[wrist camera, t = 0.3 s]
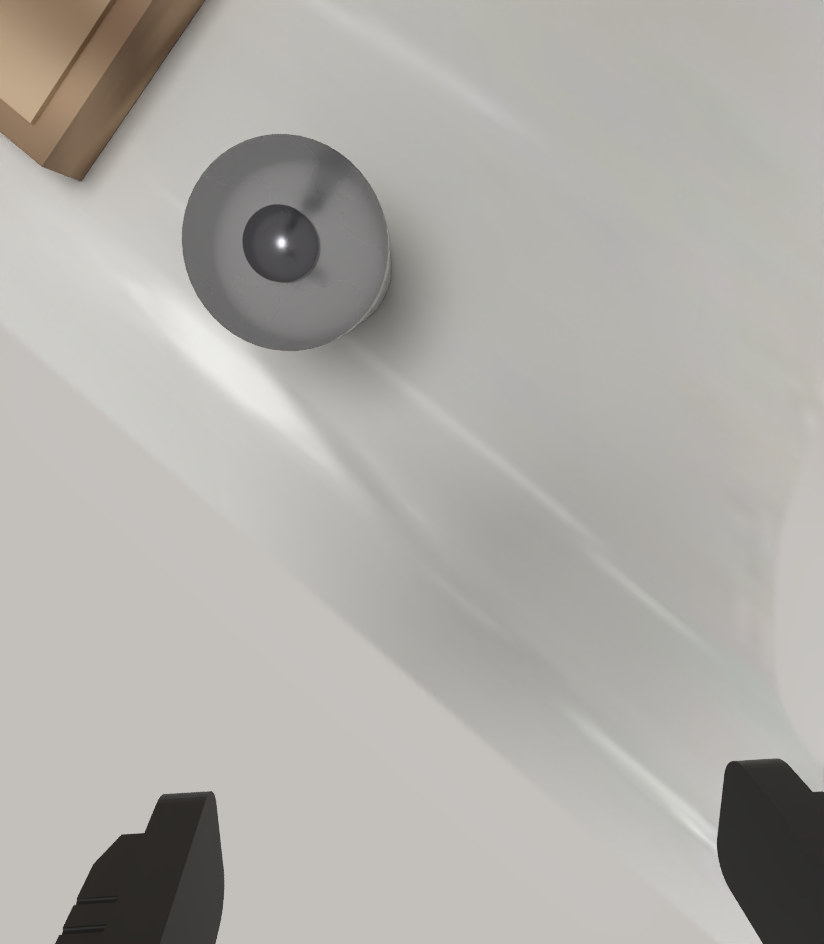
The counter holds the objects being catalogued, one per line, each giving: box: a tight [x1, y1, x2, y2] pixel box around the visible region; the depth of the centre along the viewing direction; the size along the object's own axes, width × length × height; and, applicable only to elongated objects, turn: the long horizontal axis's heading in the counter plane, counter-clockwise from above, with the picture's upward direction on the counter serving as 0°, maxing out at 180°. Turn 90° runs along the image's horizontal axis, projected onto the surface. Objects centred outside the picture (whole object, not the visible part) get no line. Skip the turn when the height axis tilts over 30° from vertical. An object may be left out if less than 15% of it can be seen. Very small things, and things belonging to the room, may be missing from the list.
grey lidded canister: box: [182, 134, 391, 351], centre depth 24 cm, size 6×6×11 cm
